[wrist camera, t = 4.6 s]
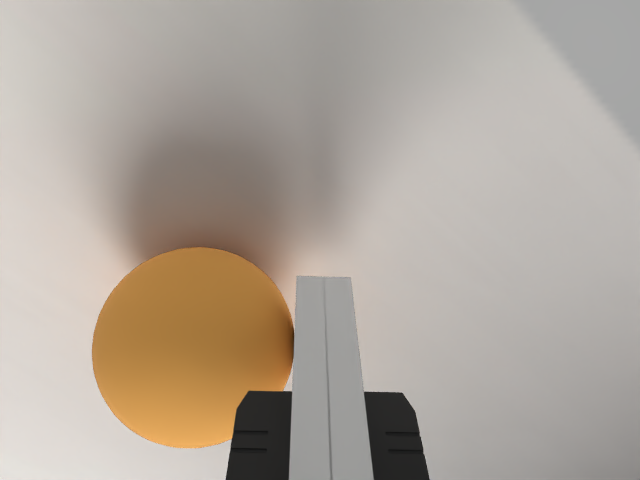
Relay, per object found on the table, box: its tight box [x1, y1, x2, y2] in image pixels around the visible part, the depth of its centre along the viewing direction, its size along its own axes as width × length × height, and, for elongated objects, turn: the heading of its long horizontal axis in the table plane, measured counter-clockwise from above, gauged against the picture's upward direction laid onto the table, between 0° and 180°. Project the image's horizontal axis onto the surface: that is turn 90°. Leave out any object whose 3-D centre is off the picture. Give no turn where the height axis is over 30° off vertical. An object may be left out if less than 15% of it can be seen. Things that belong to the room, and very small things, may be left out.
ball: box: [92, 247, 294, 448], centre depth 15 cm, size 6×6×6 cm
